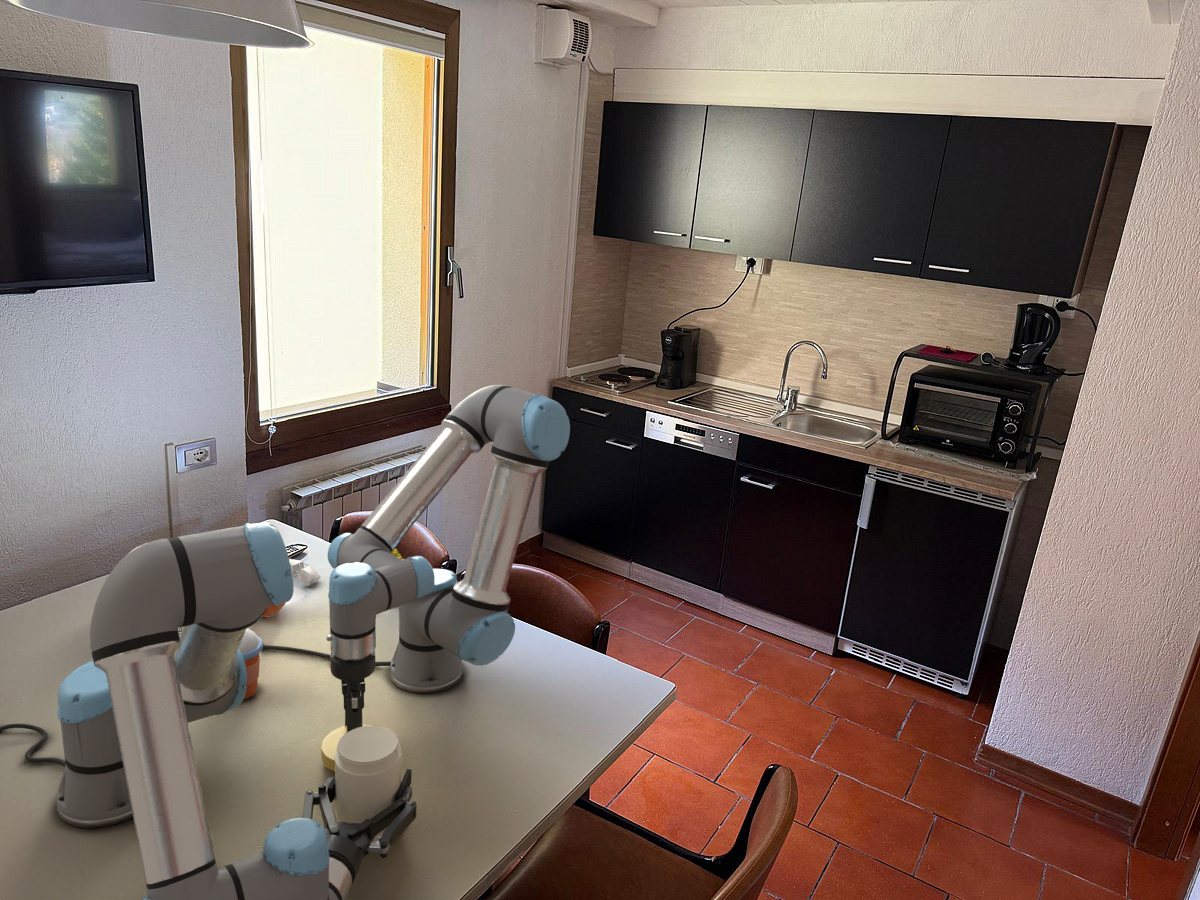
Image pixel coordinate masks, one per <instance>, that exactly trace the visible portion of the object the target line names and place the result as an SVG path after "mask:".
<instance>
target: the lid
mask: <svg viewBox="0 0 1200 900" xmlns="http://www.w3.org/2000/svg"><path fill="white" fill-rule="evenodd" d="M363 726H370V725H369V724H364V723H362V727H363ZM346 733H347V725H346V726H345V725H342V726H339V727H337V728H334V729H333V730H331V731H330V732H328V733H327V734H326V735H325V736H324V738H323V739H322V741H321V745H320V751H321V752H320V756H321V757H320V758H321V762H322V763H323V765H324V766H325V767H326V768H327V769H328V770H331V771H333V772H335V754H336V752H337V745H338V742H339V740H340V738H341V737H342V736H344V735H345V734H346Z"/></svg>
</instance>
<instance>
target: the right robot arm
mask: <svg viewBox="0 0 1200 900" xmlns="http://www.w3.org/2000/svg"><path fill="white" fill-rule="evenodd" d="M440 423H441V430H440V431H439V432H438V434H437V435H436V436H435V437H434V438H433V439H432V440H431V442H430V443H429V445H427V446H426V448H425V449H424V450H423V451H422V453H421V454H420V455H419V456H418V457H417V458H416V460H415V461H413V463H412V464H411V466H410V467H409V468H408V469H407V470H406V471H405V473H404V474H403V475H402V476H401V477H400V478H399V480H398V481H397V482H396V483H395V484H394V485H393V487H392V488H391V490H389V492H388V493H386V495H385V497H383V499H382V500H381V502H380V503H379V504H378V505H377V506H376V507H375V509H374V510H373V511H372V512H371V513H370V514H369V516H368V517H367V518H366V519H365V520H364V522H363V523H362V524H361V525H360V527H359V528H357V530H356V531H355V532H354V533H351V532H345V533H344V532H343V533H341V534H340V535H338V536H336V537H335V538H334V539H333V540H332V541H331V543H330V544H329V547H328V549H327V561H328V564H329V565H330V567H331V568H332V569H333V570H332V571H331V573H330V576H329V582H328V597H327V598H328V603H329V604H328V605H329V607H328V608H329V631H330V632H329V633H330V634H327V635H326V638H325V639H326V641H328V642H330V654H329V653H325V652H324V653H323V652H320V651H315V650H310V649H303V648H299V647H290V646H283V645H282V646H281V645H271V644H263V648H262V650H267V651H269V650H270V651H281V652H290V653H297V654H304V655H307V656H314V657H318V658H322V659H326V660H327V659H328V660H330V664H329V665H330V673H331V675H332V676H333V677H334V678H335V679H338V680H340V681H341V694H342V696H343V697H342V698H343V710H344V726H346V725H347V732H349V731H351V730H353V729H356V728H359V727H362V724H363V709H364V708H365V693H366V681H365V680H366V679H367V678H368V677H370V676H371V675H372V674H373V673H374V672H375V669H376V667H389V679H390V681H391V682H392V683H393V684H394V685H395V686H396V687H398V688H399V689H401V690H404V691H407V692H410V693H416V694H430V693H431V694H432V693H438V692H441V691H445V690H447V689H450V688H451V687H453V686H455V685H456V684H457V683H458V682H459V681H460V680H461V679H462V676H463V672H464V664H463V661H464V662H467V663H469V664H471V665H474V666H486V665H489V664H491V663H493V662H494V661H497V660H498V658H499V657H500V656H502V655H503V654H504V653H505V652H506V651H507V649H508V648H509V646H510V645H511V643H512V641H513V638H514V636H515V632H516V623H515V622H514V621H515V620H514V618H513V617H512V616H511V614H510V613H508V612H509V608H510V604H511V597H510V596H509V594H508V592H507V587H508V582H509V580H510V576H511V572H512V569H513V565H514V562H515V558H516V556H517V555H516V554H517V551H518V548H519V544H520V540H521V536H522V533H523V529H524V526H525V522H526V518H527V515H528V511H529V509H530V508H529V507H530V504H531V501H532V497H533V493H534V490H535V486H536V483H537V479H538V476H539V475H540V474H542V473H543V472H544V471H546V470H548V468H549V465H550V462H552V461H555V460H557V459H558V458H559V457H560V456H561V455H562V453H564V451H565V450H566V448H567V446H568V443H569V440H570V436H571V435H570V433H571V423H570V418H569V416H568V415H567V412H566V409H565V408H564V407H563V405H561V404H560V402H558V401H556V400H554V399H551V398H549V397H547V396H545V395H543V394H537V393H533V392H529V391H526V390H524V389H523V390H522V389H519V388H516V387H513V386H510V385H506V384H491V385H488V386H484V387H482V388H480V389H478V390H476V391H474V392H472V393H471V394H470V395H468V396H467V397H465V398H464V399H462V401H460V402H459V403H458V404H457V405H456V406H454V407H453V409H452V410H451V411H449V413H447V415H446V416H445V417H444V419H443V420H442V421H441V422H440ZM489 443H492V446H491V449H490V455H491V457H492V458H493V460H494V468H493V471H492V475H491V479H490V482H489V486H488V490H487V494H486V496H485V500H484V504H483V507H482V512H481V515H480V519H479V522H478V526H477V530H476V532H475V536H474V539H473V540H474V541H473V544H472V547H471V551H470V555H469V558H468V561H467V566H466V570H465V573H464V576H463V579H461V580H460V581H459V580H458V579H457V578H458V577H457V574H456V573H455V572H453V570H449V569H445V568H433V566H432V564H431V563H430V561H429V560H428V559H427V558H426V557H423V556H421V555H414V556H408V557H407V558H402V559H400V558H398V557H396V556H394V555H392V554H390V553H391V552H392V550H393V549H394V547H395V548H396V547H397V545H398V544H399V542H401V540H402V539H403V538H404V537H405V535H406V534H407V533H408V532H409V530H411V529H412V527H413V526H414V524H415V523H416V522H417V521H418V519H419V518H420V517H421V516H422V514H423V513H424V512H425V511H426V510H427V509H428V507H429V506H430V505H431V503H432V502H433V501H435V499H436V498H437V496H438V495H439V494H440V492H441V491H442V490H443V489H444V488H445V487H446V485H447V484H448V483H449V482H450V480H451V479H452V478H453V477H454V475H455V474H456V473H457V472H458V471H459V469H460V468H461V467H462V466H463V464H464V463H465V462H466V461H467V460H468V458H469V457H470V456H471V455H472V454H476V453H477V454H478V453H479V452H480V451H482V449H483V448H484V447H485V446H486V445H487V444H489ZM403 559H404V560H403ZM396 608H398V643H397V645H396V648H395V651H394V653H393V656H392V659H391V660H390V661H376V648H377V640H376V638H377V636H376V635H377V631H376V630H377V629H376V628H377V626H376V624H377V623H376V622H377V621H376V620H377V619H376V618H377V616H378V615H379V614H382V613H385V612H387V611H390V610H393V609H396Z"/></svg>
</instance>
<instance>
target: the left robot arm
mask: <svg viewBox="0 0 1200 900" xmlns="http://www.w3.org/2000/svg"><path fill="white" fill-rule="evenodd" d="M148 542H149V543H148ZM148 542H146V544H145V543H143V544H141V545H139V547H138V546H137V547H138V548H136V547H135V548H136V549H135V548H134V549H135V550H133V549H132V550H133V551H132V550H131V551H132V552H131V551H130V552H128V553H127V554H126V555H125V556H124V557H123V558H122V559H121V560H120V561H119V562H118V563H117V564H116V565H115V566H114V568H113V569H112V570H111V571H110V573H109V574H108V576H107V578H106V579H105V581H104V583H103V585H102V587H101V589H100V591H99V593H98V595H97V598H96V600H95V604H94V608H93V612H92V616H91V620H90V629H89V641H90V642H89V645H90V651H91V658H92V660H91V661H87V662H86V663H84V664H82V665H79V667H77V668H76V669H74V670H73V671H71V672H70V673H69V675H68V676H67V677H65V678H64V679H63V681H62V682H61V684H60V685H59V687H58V691H57V712H56V713H57V717H58V720H59V721H60V728H61V729H60V730H61V737H62V739H61V740H62V747H63V756H64V759H62V758H58V757H32V756H31V755H32V753H33V752H34V751H36V750H37V748H39V747H41V745H43V744H44V743H45V742H46V740H47V739H48V737H49V734H48V732H47V731H46V730H45V729H44V728H42V727H39V726H38V725H33V724H29V723H10V724H5V725H1V726H0V733H1V732H3V731H5V730H9V729H25V730H32V731H35V732H36V733H39V734H41V735H42V737H41V738H40V739H39V740H38V741H37V742H36V743H35V744H33V745H32V746H31V747H29V748H28V750H27V751H26V752H25V754H24V758H25V761H27V762H29V763H54V764H58V765H60V766H63V773H62V776H61V780H60V783H59V786H58V790H57V793H56V809H57V814H58V816H59V818H60V819H61V820H62V821H63V822H65V823H66V824H69V825H71V826H74V827H79V828H85V829H87V828H88V829H89V828H90V829H94V828H95V829H96V828H102V827H108V826H112V825H116V824H120V823H123V822H125V821H127V820H130V819H133V822H134V829H135V833H136V839H137V844H138V849H139V855H140V860H141V865H142V870H143V875H144V880H145V881H144V882H145V885H146V890H147V896H145V897H143V898H142V900H346V899H347V897H348V895H349V892H350V890H351V888H352V885H353V883H354V882H355V879H356V877H357V875H358V872H359V870H360V868H361V865H362V863H363V861H364V858H366V857H367V856H368V855H369V854H370V853H374V854H379V858H381V859H386V858H387V857H388V856H389V853H390V850H391V847H392V846H393V845H395V843H396V842H397V840H398V839H399V838H400V837H401V836H402V834H404V833H405V831H406V830H407V829H408V828H409V827H410V825H411V824H412V823H413V822H414V821H415V819H416V818H417V806H418V805H417V802H416V801H414V800H413V801H412V797H413V786H411V785H412V775H413V774H412V773H413V771H412V768H406V770H405V772H404V775H403V777H402V778H401V784H400V786H399V789H398V791H397V793H396V801H395V802H394V803H392V804H391V805H390V806H388V807H387V808H385V809H384V810H382V811H381V812H380V813H378V814H377V815H375V816H374V817H372V818H371V819H366V820H364V821H363V822H361V823H347V822H342V821H340V822H339V823H337V822H336V814H334V812H333V808H332V805H331V803H333V802H334V801H335V774H334V775H333V776H332V777H327V779H326V780H325V781H324V784H320V785H319V786H318V788H317V789H318V790H317V791H313V790H312V789H311V790H307V791H305V795H304V801H303V811H302V817H293V818H289V819H286V820H283V821H281V822H279V823H278V824H277V825H276V826H275V827H274V828H273V829H271V830H270V831H268V833H267V835H266V837H265V839H264V844H263V847H262V849H263V850H261V851H260V852H257V853H254V854H252V855H250V856H247V857H244V858H242V859H240V860H237V861H235V862H231V863H229V864H227V865H225V866H222V867H219V868H218V865H217V861H216V854H215V849H214V843H213V840H212V839H213V838H212V834H211V829H210V825H209V820H208V814H207V810H206V806H205V805H206V804H205V800H204V794H203V791H202V786H201V781H200V777H199V771H198V767H197V761H196V757H195V752H194V747H193V742H192V737H191V733H190V727H189V723H193V722H196V721H199V720H202V719H206V718H209V717H212V716H218V715H223V714H225V713H227V712H228V711H231V710H234V709H236V708H237V707H238V706H240V705H241V704H242V703H243V700H245V699H244V697H245V694H246V684H245V683H247V672H246V666H245V662H244V659H243V656H242V654H241V652H240V650H239V646H240V643H241V641H242V638H243V636H244V634H245V631H246V629H249V628H251V627H252V626H253V625H256V623H257V622H258V621H260V620H261V619H262V617H264V616H263V614H264V613H265V611H266V609H267V607H269V606H273V605H275V606H280V605H281V604H283V603H285V604H286V603H288V602H290V601H291V599H292V598H293V596H294V577H292V570H291V565H290V561H289V559H290V557H289V553H288V551H287V548H286V544H285V541H284V539H283V537H282V534H281V533H280V531H279V529H278V528H277V526H275V525H274V524H273V523H271V522H267V521H263V522H255V523H249V522H246V523H244V524H243V525H240V526H233V527H232V526H231V527H227V528H222V529H221V528H220V529H215V530H209V531H203V532H197V533H192V534H187V535H180V536H174V537H169V538H159V539H154V540H152V541H148ZM179 628H182V629H181V633H179ZM315 806H318V808H319V811H320V815H321V818H322V822H323V825H324V827H323V826H322V824H321V823H319V822H318V821H316V820H314V819H313V818H314V808H315ZM384 829H386V830H385V831H384V832H383V834H382V836H381V835H380V836H378V839H377V840H376V841H375V842H371V841H373V839H374V837H375V836H376V835H377V834H379V833H380V832H381V831H383V830H384Z"/></svg>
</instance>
